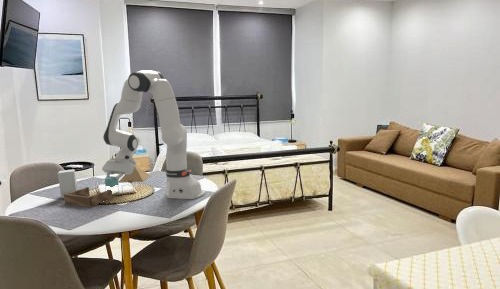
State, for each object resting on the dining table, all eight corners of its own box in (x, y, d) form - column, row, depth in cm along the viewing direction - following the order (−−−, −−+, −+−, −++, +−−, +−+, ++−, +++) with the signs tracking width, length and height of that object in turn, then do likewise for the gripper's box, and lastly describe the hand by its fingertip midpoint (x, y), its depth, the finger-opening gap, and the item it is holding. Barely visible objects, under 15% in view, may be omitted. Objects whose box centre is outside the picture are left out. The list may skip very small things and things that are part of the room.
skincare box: (78, 194, 206) (75, 168, 204) (77, 197, 200) (74, 170, 198) (61, 196, 203) (59, 170, 201) (60, 198, 198) (57, 172, 195)
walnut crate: (88, 195, 202) (87, 187, 202) (112, 198, 195) (111, 189, 194) (64, 203, 189) (63, 194, 188) (89, 207, 182) (88, 197, 181)
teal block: (119, 192, 208) (117, 177, 207) (112, 194, 204) (111, 179, 202) (112, 191, 210) (111, 176, 209) (106, 193, 206) (104, 178, 204)
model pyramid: (117, 182, 231) (116, 167, 229) (127, 176, 248) (126, 162, 246) (143, 182, 230) (142, 167, 229) (151, 175, 248) (150, 161, 246)
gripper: (106, 155, 215) (95, 175, 208) (133, 157, 207) (122, 177, 200) (112, 161, 220) (101, 180, 213) (139, 163, 212) (128, 183, 204)
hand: (111, 179), depth 206 cm, fingers open, 6 cm apart
